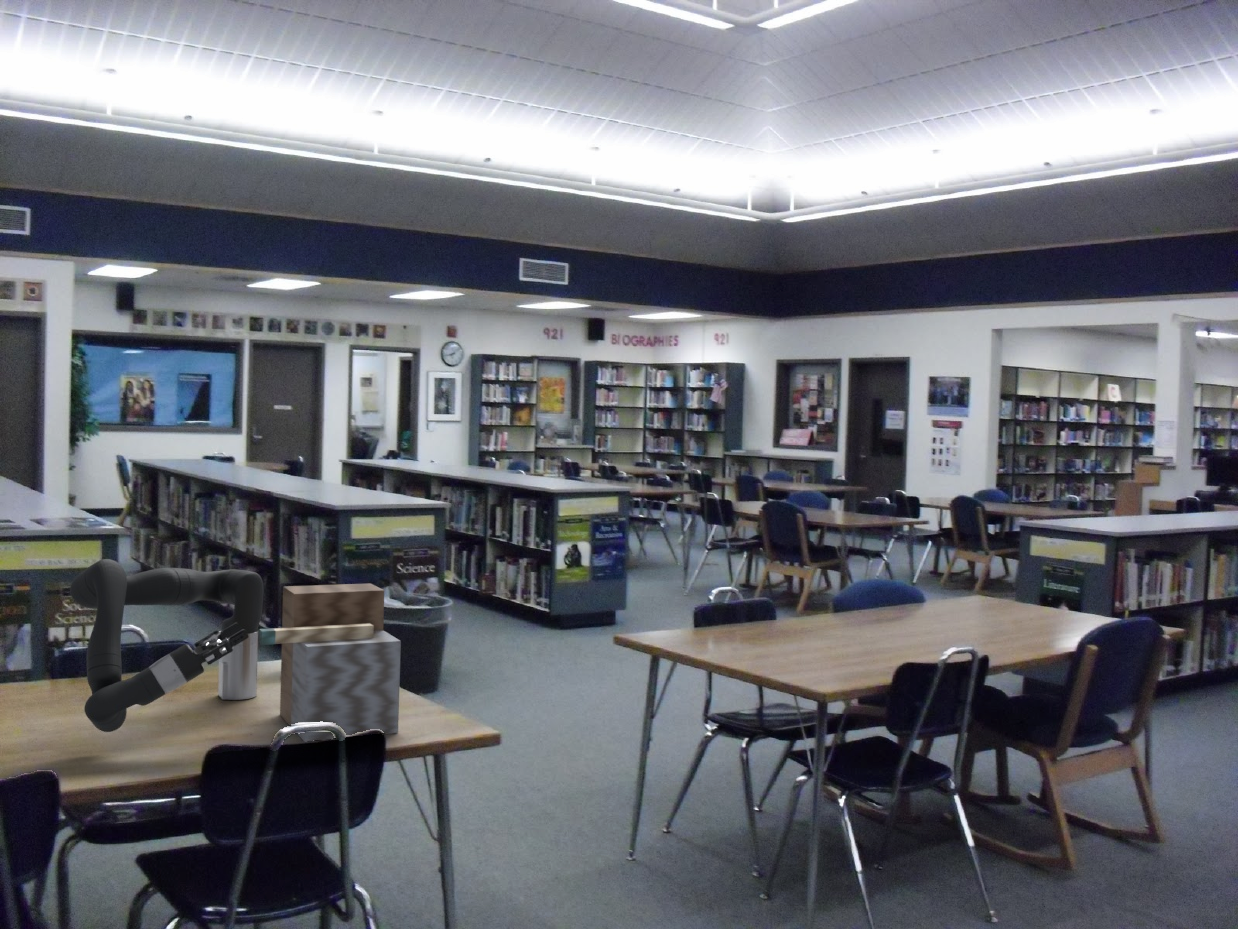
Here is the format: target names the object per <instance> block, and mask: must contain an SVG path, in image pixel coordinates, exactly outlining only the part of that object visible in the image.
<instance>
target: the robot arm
mask: <svg viewBox="0 0 1238 929" xmlns="http://www.w3.org/2000/svg"><path fill="white" fill-rule="evenodd" d="M264 591H265V590H264V581H263V578H262V577H261V575H260V574H259V573H257V572H256V571H252V570H251V571H250V570H243V569H238V568H237V569H236V568H232V569H230V568H229V569H223V570H214V571H201V570H196V569H190V568H184V567H182V568H181V567H161V568H160V567H159V568H154V569H149V570H146V571H141V572H137V573H134V574H131V575H127V573H126V571H125V569H124V567H123V566H122V565H121V564H120V563H119V562H118V561H116V560H113V559H109V558H105V559H104V558H103V559H99V560H98V561H96V562H94V563H93V564H91V565H90V566H89V567H87V568H85V569H84V570H83V571H82V572H80V573H78V574H77V575H76V576H75V578H73V580H72V582H71V584H70V587H69V593H70V597H71V598H72V599H73V601H74V602H76V604H78V605H79V606H81V607H84V608H86V609H91V610H92V609H93V610H96V614H95V620H94V624H93V627H92V630H91V634H90V637H89V640H88V644H87V649H86V658H85V659H86V678H87V683H88V685H89V688H90V691H91V695H90V696H89V697H88V699H87V700H86V701H85V704H84V707H83V708H84V710H83V711H84V714H85V716H86V717H87V719H88V720H89V721H90V722H91V723H92V725H93V726H94V727H95V728H96V729H97V730H99V731H100V732H105V733H110V732H115V731H117V730H119V729H120V728H121V727H122V726H123V724H124V723H125V721H126V718H127V711H128V709H129V708H130V707H133V706H135V705H138V706H141V707H142V706H143V707H145V706H146V705H150V704H152V703H153V702H155V701H156V700H158V699H160V698H161V697H163V696H164V695H166V694H168V693H170V692H172V691H175V690H177V689H178V688H180V687H182V686H183V685H185V684H187V683H189V682H190V681H191V680H193V679H195V678H196V677H197V678H198V676H200V675H202V674H203V673H204V672H205V669H204V667H203V664H204V663H206V664H207V665H208V666H209V665H211V664H213V663H215V662H216V661H218V684H217V685H218V687H217V690H218V693H217V694H218V696H219V697H220V699H221V700H232V701H237V700H238V701H239V700H248V699H252V698H255V697H257V695H258V693H257V692H258V658H259V657H258V656H259V655H258V653H259V652H258V651H259V625H260V623H261V621H262V620H261V619H262V616H263V608H264V607H263V606H264V605H263V604H264V593H265V592H264ZM199 601H212V602H218V603H224V604H227V605H234V608H233V614H232V616H230V617H227V618H225V619H224V620H222V622H221V630H218V629H217V630H214V631H213V632H211V633H209V634H208V635H206V636H204V637H202V638H201V639H200V640H198V641H196V642H195V643H194V644H193V646H194V648H193V649H192V647H191V646H190V644H189V643H184V644H183V645H181V646H180V647H178V648H177V649H174V650H173V651H171V652H170V653H168V654H166V655H165V656H163V657H161V658H160V659H158V660H156V661H155V662H154V663H152V664H151V665H150V666H148V667H146V668H144V669H143V670H141V671H140V672H138V673H137V674H134V675H133V676H132V677H130V678H127V679H124V680H123V679H122V676H123V675H122V673H123V672H122V651H121V650H122V649H121V648H122V646H121V645H122V644H121V642H122V627H123V626H122V625H123V619H124V610H125V606H184V605H185V606H186V605H190V604H193V603H196V602H199Z"/></svg>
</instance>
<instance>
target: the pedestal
mask: <svg viewBox="0 0 1238 929" xmlns="http://www.w3.org/2000/svg"><path fill="white" fill-rule="evenodd" d="M282 593H283V594H282V616H281V617H282V618H281V621H282V623H281V624H282V625H281V626H282V627H281V628H293V627H312V626H330V625H349V624H367V623H370V624H372V625H374V629H373V638H364V639H348V640H331V641H315V642H298V643H282V644H281V657H280V658H281V660H280V661H281V662H280V696H279V697H280V699H279V700H280V701H279V715H280V716H281V718H282V719H283V720H284V721H285V722H286V723H287V724H288V725H289V726H290V725H291V724H295V723H298V722H320V721H323V722H333V723H336V725H338V726H340V727H341V728H342V729H343V730H344V732H345V733H346V735H352V734H355V733H357V732H363V731H366V730H370V729H380V730H382V731H383V732H384V733H385V734H384V735H387V734H397V732H398V733H399V720H400V719H399V715H400V714H399V713H400V688H401V687H400V684H401V683H400V681H401V677H400V676H401V653H402V652H401V650H402V648H401V647H402V642H401V641H402V640H400V639H398V638H396V637H395V636H393V635H391V633H389V632H387V631H385V630H384V617H385V589H383V588H380V587H378V586H377V585H375V584H373V583H371V582H370V583H352V584H351V583H348V584H347V583H346V584H345V583H343V584H342V583H341V584H318V585H293V586H292V585H291V586H289V585H288V586H283V587H282ZM297 735H298V737H300V739H302V741H303V742H304V743H308V742H307V741H312V742H314V741H313V740H322V741H325V740H324V739H331V740H333V739H332V738H334V736H333V734H332V733H331V732H305V733H300V734H297Z"/></svg>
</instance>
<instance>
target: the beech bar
mask: <svg viewBox="0 0 1238 929" xmlns="http://www.w3.org/2000/svg"><path fill="white" fill-rule="evenodd" d="M373 629H374V625H372V624H370V623H367V624H349V625H330V626H312V627H293V628H282V627H280V628H279V627H278V628H276V627H274V628H258V644H259V645H261V646H264V645H265V646H266V645H267V646H268V645H279V644H281V645H282V643H298V642H315V641H331V640H348V639H364V638H373Z"/></svg>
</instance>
